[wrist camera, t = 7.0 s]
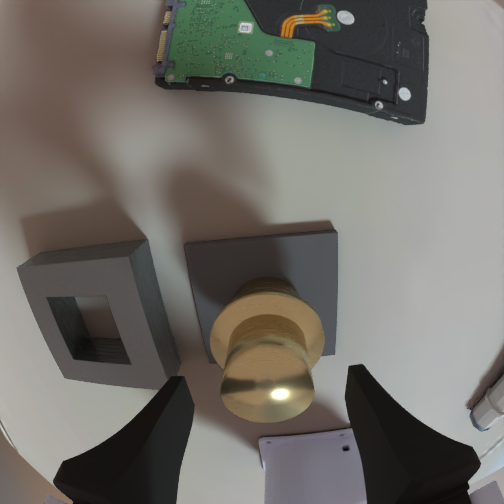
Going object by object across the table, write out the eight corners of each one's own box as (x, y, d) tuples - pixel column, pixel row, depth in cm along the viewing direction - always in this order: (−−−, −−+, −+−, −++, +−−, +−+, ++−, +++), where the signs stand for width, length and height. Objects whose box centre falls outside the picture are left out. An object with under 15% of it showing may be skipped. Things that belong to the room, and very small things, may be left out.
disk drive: (408, -4, 12) (189, -37, 12) (425, -19, 9) (179, -58, 9) (406, 127, 15) (164, 94, 15) (428, 126, 13) (147, 86, 13)
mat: (335, 229, 17) (337, 232, 17) (333, 349, 20) (334, 354, 20) (186, 243, 18) (183, 246, 17) (211, 358, 21) (209, 363, 20)
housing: (147, 239, 18) (128, 256, 15) (180, 363, 21) (171, 390, 19) (39, 253, 19) (16, 267, 16) (79, 357, 22) (64, 378, 19)
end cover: (315, 262, 17) (345, 337, 10) (312, 343, 19) (329, 429, 12) (214, 266, 18) (185, 343, 11) (225, 346, 20) (209, 433, 13)
